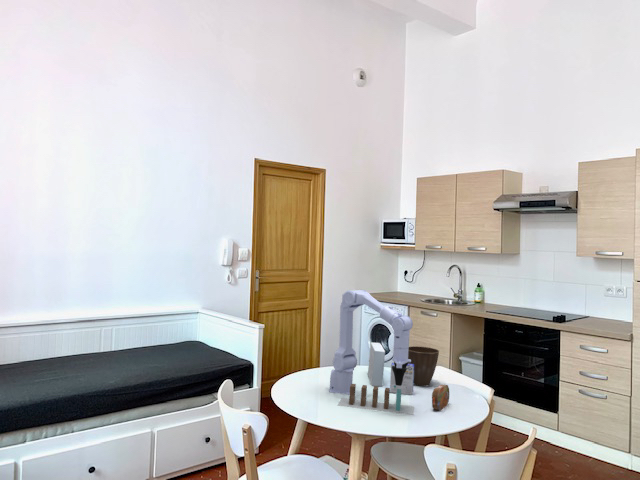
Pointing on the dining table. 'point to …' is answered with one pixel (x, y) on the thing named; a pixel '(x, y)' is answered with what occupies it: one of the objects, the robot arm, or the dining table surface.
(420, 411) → the dining table surface
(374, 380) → the skincare box
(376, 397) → the walnut tile
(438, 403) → the tin
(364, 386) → the walnut tile
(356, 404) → the mat
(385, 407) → the walnut tile
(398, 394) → the teal end tile
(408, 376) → the ink cartridge box
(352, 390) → the walnut tile
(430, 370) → the plant pot
